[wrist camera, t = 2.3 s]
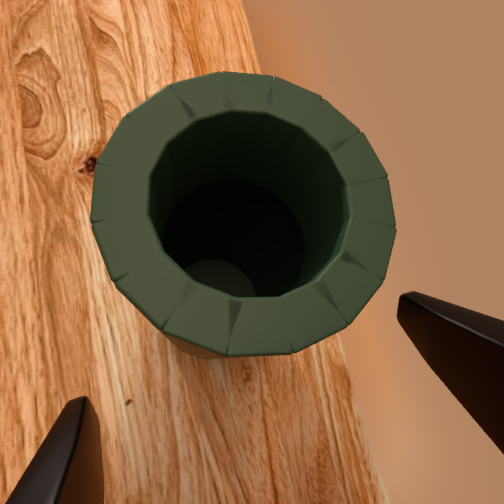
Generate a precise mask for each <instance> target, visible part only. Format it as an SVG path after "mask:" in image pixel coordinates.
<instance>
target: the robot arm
mask: <svg viewBox="0 0 504 504" xmlns="http://www.w3.org/2000/svg"><path fill="white" fill-rule="evenodd" d="M397 319H398V322H399V324H400V325H401V327H402V328H403V329H404V331H405V332H406V334H407V335H408V337H409V338H410V340H411V341H412V343H413V344H414V345H415V347H416V348H417V350H418V351H419V353H420V354H421V356H422V357H423V358H424V360H425V361H426V362H427V364H428V365H429V366H430V368H431V369H432V370H433V371H434V372H435V374H436V375H437V376H438V377H439V378H440V380H441V381H442V382H443V383H444V384H445V386H447V388H448V389H449V390H450V391H451V393H452V394H453V395H454V396H455V397H456V398H457V400H458V401H459V402H460V403H461V404H462V406H463V407H464V408H465V409H466V410H467V412H468V413H469V414H470V415H471V416H472V418H473V419H474V420H475V421H476V422H477V423H478V425H479V426H480V427H481V428H482V429H483V431H484V432H485V433H486V434H487V435H488V436H489V438H490V439H491V440H492V441H493V442H494V443H495V445H496V446H497V447H498V448H499V450H501V452H502V453H503V454H504V321H503V320H500V319H497V318H494V317H491V316H488V315H484V314H482V313H479V312H476V311H473V310H470V309H466V308H464V307H461V306H458V305H455V304H452V303H449V302H446V301H443V300H439V299H436V298H434V297H430V296H428V295H425V294H422V293H419V292H415V291H410V292H407V293H404V294H402V295H401V296H400V297H399V303H398V309H397ZM5 504H104V475H103V462H102V449H101V436H100V424H99V419H98V416H97V414H96V412H95V410H94V408H93V406H92V404H91V402H90V400H89V398H88V397H87V396H81V397H78V398H75V399H72V400H70V401H68V402H67V404H66V405H65V407H64V408H63V410H62V412H61V413H60V415H59V417H58V418H57V420H56V421H55V423H54V425H53V426H52V428H51V430H50V431H49V433H48V434H47V436H46V438H45V439H44V441H43V443H42V444H41V446H40V448H39V449H38V451H37V452H36V454H35V456H34V457H33V459H32V461H31V462H30V464H29V465H28V467H27V469H26V470H25V472H24V474H23V475H22V477H21V479H20V480H19V482H18V483H17V485H16V487H15V488H14V490H13V492H12V493H11V495H10V496H9V498H8V500H7V501H6V503H5Z"/></svg>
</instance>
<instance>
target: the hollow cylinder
mask: <svg viewBox="0 0 504 504" xmlns="http://www.w3.org/2000/svg"><path fill="white" fill-rule="evenodd" d="M387 177H388V174H387V172H386V171H385V169H384V167H383V166H382V164H381V162H380V160H379V159H378V157H377V155H376V153H375V152H374V150H373V148H372V147H371V145H370V143H369V142H368V140H367V138H366V136H365V134H364V133H363V132H360V130H359V129H358V128H357V127H356V126H355V125H354V124H353V123H352V122H350V121H349V120H348V119H347V118H346V117H345V116H344V115H342V114H341V113H340V112H339V111H338V110H337V109H335V108H334V107H333V106H332V105H331V104H330V103H329V102H328V101H326V100H325V99H322V96H321V95H318V94H316V93H313V92H311V91H309V90H307V89H304V88H302V87H300V86H297V85H295V84H292V83H290V82H288V81H286V80H283V79H281V78H279V77H276V76H275V77H273V76H270V75H259V74H248V73H237V72H226V71H223V72H221V73H220V72H215V73H211V74H207V75H203V76H199V77H195V78H191V79H187V80H183V81H179V82H175V83H171V84H170V86H169V85H167V86H165V87H164V88H162V89H161V90H159V91H158V92H157V93H155V94H154V95H152V96H151V97H150V98H148V99H147V100H145V101H144V102H142V103H141V104H140V105H138V106H137V107H135V108H134V109H133V110H131V111H130V112H128V113H127V114H126V116H124V117H123V118H122V120H121V121H120V123H119V125H118V126H117V128H116V130H115V131H114V133H113V135H112V136H111V138H110V140H109V141H108V143H107V145H106V146H105V148H104V150H103V151H102V153H101V155H100V156H99V158H98V160H97V162H96V166H95V171H94V181H93V192H92V203H91V214H90V222H91V224H92V231H93V234H94V236H95V239H96V242H97V244H98V247H99V250H100V252H101V255H102V258H103V260H104V263H105V266H106V268H107V271H108V274H109V276H110V279H111V280H112V281H113V282H114V283H115V286H116V288H117V289H118V290H119V291H120V292H121V293H122V294H123V295H124V296H125V297H126V298H127V299H128V300H129V301H130V302H131V303H132V304H133V305H134V306H135V307H136V308H137V309H138V310H139V311H140V312H141V313H142V314H143V315H144V316H145V317H146V318H147V319H148V320H149V321H150V322H151V323H152V324H153V325H154V326H155V327H156V328H157V329H158V330H159V331H160V332H161V333H162V334H164V335H165V336H166V337H167V338H168V339H169V340H170V341H171V342H172V343H173V344H174V345H176V346H177V347H178V348H179V349H180V350H182V351H183V352H186V353H188V354H191V355H193V356H196V357H199V358H203V359H210V358H233V357H253V356H274V355H290V354H292V353H297V352H299V351H301V350H303V349H305V348H307V347H309V346H311V345H313V344H315V343H317V342H319V341H321V340H323V339H325V338H327V337H329V336H331V335H333V334H335V333H337V332H339V331H341V330H343V329H345V328H346V327H347V326H348V325H350V324H351V323H352V322H353V320H354V319H355V318H356V317H357V315H358V314H359V313H360V312H361V310H362V309H363V308H364V307H365V305H366V304H367V303H368V302H369V300H370V299H371V298H372V296H373V295H374V294H375V293H376V291H377V290H378V289H379V287H380V286H381V285H382V284H383V281H384V279H385V276H386V272H387V268H388V264H389V260H390V256H391V252H392V248H393V244H394V240H395V235H396V231H397V230H396V228H395V226H396V222H395V216H394V210H393V204H392V198H391V191H390V185H389V180H388V178H387Z"/></svg>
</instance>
